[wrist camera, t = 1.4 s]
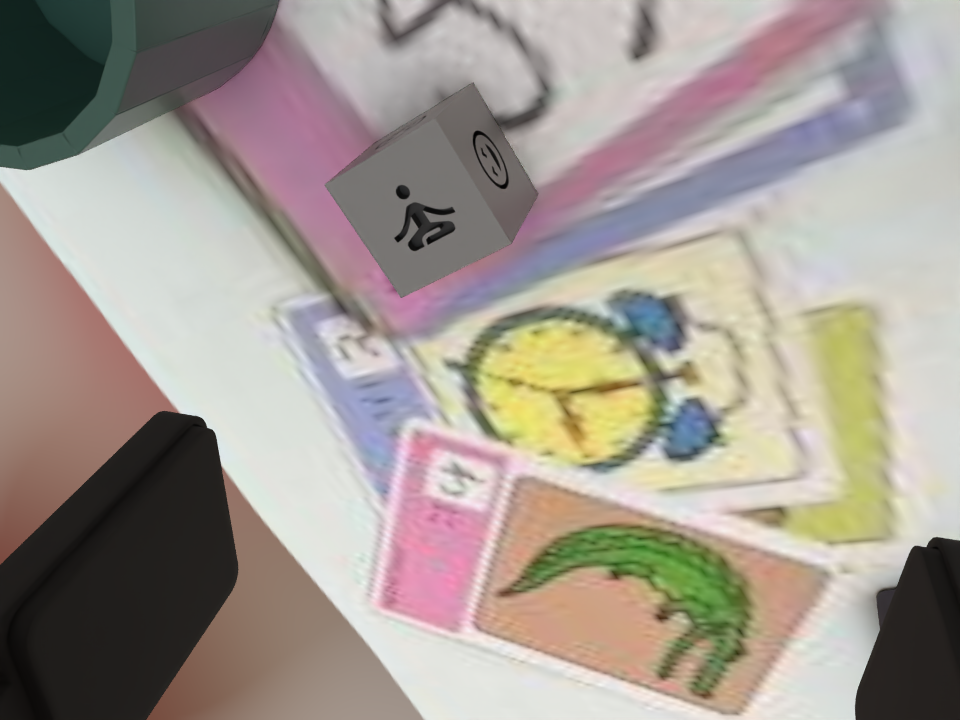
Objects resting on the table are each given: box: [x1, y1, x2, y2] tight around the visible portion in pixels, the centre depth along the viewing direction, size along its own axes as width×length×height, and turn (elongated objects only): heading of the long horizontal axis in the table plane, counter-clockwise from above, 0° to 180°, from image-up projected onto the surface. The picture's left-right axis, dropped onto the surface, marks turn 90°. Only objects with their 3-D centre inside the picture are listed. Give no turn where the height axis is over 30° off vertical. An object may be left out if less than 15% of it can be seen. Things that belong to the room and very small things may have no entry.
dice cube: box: [325, 83, 538, 298], centre depth 32 cm, size 5×5×5 cm
